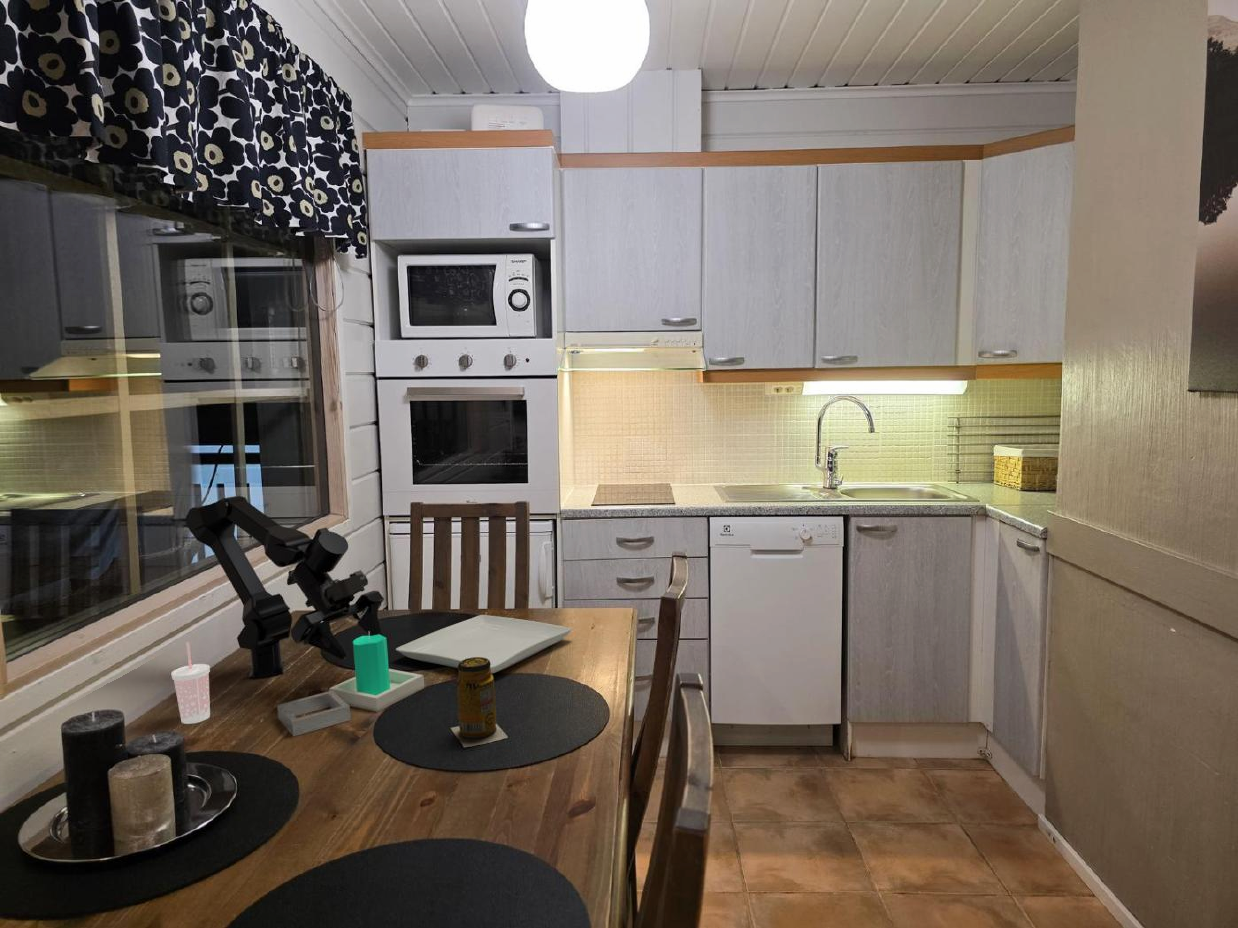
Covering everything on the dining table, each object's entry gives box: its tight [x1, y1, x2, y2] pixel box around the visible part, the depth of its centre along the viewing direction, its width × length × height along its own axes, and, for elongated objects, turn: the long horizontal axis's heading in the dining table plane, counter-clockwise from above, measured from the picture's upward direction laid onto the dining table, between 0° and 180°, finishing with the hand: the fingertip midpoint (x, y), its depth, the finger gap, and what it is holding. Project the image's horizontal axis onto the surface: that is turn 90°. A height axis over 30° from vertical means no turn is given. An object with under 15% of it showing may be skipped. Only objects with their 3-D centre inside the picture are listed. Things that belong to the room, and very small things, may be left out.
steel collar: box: [276, 690, 352, 737], centre depth 141 cm, size 10×10×2 cm
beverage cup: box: [170, 641, 211, 725], centre depth 143 cm, size 6×6×14 cm
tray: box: [328, 668, 425, 713], centre depth 151 cm, size 12×12×2 cm
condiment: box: [450, 657, 509, 748], centre depth 132 cm, size 7×8×12 cm
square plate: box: [395, 614, 573, 675], centre depth 173 cm, size 27×27×4 cm
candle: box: [352, 633, 390, 695], centre depth 150 cm, size 6×6×12 cm
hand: (363, 650), depth 152 cm, fingers open, 9 cm apart
